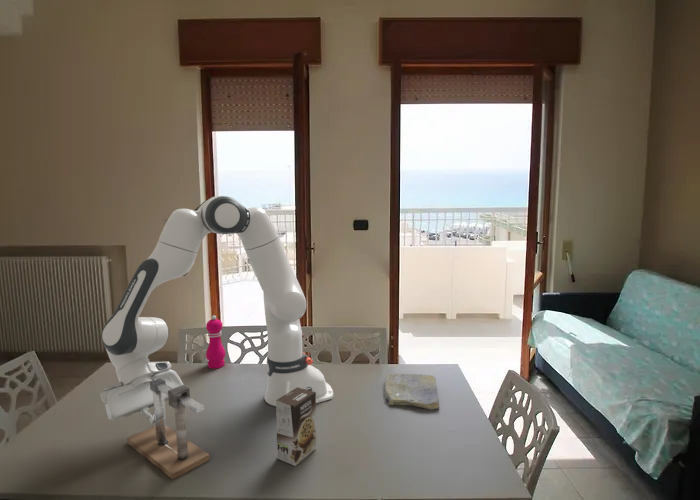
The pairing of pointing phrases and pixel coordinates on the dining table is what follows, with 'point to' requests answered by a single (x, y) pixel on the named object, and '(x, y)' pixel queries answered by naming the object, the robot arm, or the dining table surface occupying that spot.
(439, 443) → the dining table surface
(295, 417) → the coffee box
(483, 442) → the dining table surface
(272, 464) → the dining table surface
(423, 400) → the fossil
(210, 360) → the pepper mill
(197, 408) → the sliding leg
